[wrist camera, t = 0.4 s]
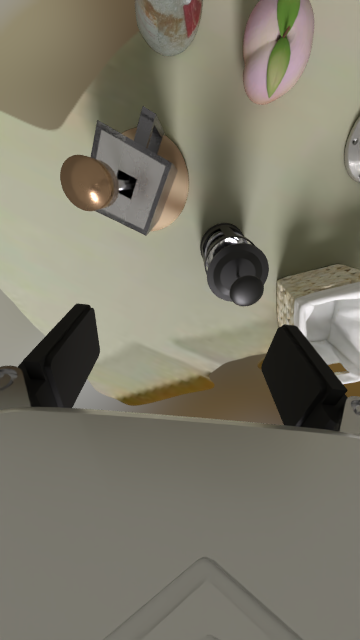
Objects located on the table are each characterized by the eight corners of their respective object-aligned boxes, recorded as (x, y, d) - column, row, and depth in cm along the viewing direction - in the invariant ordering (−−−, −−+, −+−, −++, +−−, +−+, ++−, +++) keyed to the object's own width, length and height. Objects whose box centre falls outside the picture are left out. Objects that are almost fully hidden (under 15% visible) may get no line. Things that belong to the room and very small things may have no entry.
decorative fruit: (289, 106, 33) (323, 80, 24) (236, 118, 34) (252, 96, 25) (297, 10, 28) (344, -65, 19) (235, 27, 29) (254, -38, 20)
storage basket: (271, 273, 48) (300, 304, 35) (349, 253, 45) (410, 280, 32) (276, 349, 60) (299, 392, 48) (337, 338, 57) (378, 380, 45)
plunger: (123, 149, 30) (45, 107, 14) (164, 172, 31) (137, 159, 15) (111, 196, 33) (37, 207, 17) (149, 215, 34) (113, 242, 18)
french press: (198, 222, 42) (206, 253, 23) (245, 216, 42) (295, 243, 22) (202, 276, 49) (210, 336, 29) (242, 272, 48) (279, 331, 29)
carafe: (136, 118, 34) (104, 78, 21) (186, 148, 35) (184, 128, 23) (115, 198, 40) (82, 204, 27) (159, 220, 42) (146, 235, 29)
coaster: (116, 106, 34) (115, 105, 33) (204, 159, 37) (204, 158, 36) (95, 207, 42) (93, 208, 41) (168, 243, 45) (168, 244, 44)
